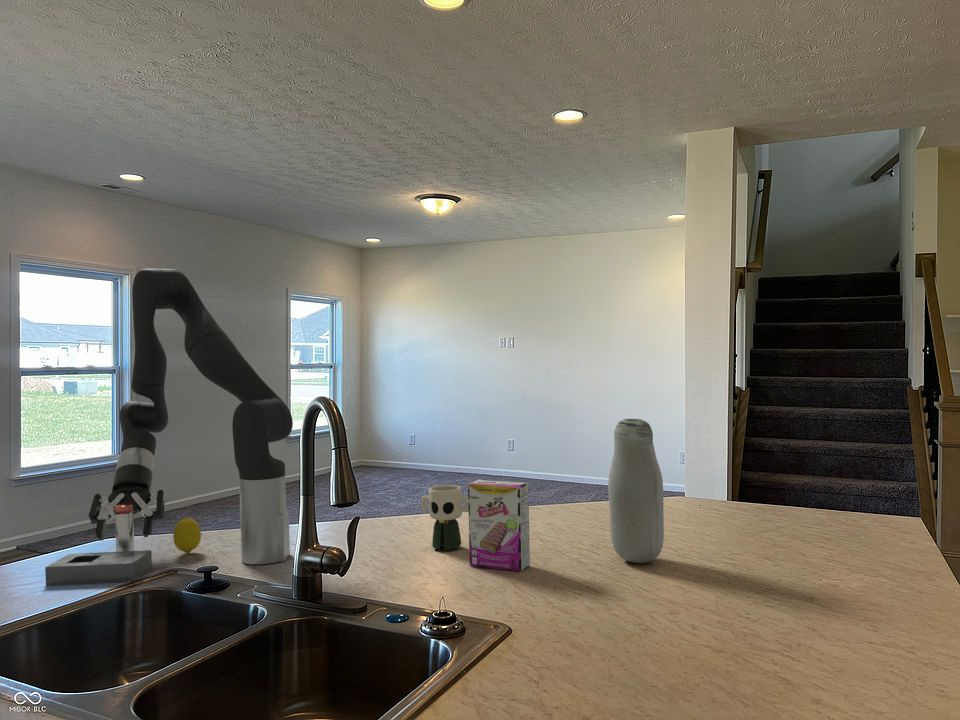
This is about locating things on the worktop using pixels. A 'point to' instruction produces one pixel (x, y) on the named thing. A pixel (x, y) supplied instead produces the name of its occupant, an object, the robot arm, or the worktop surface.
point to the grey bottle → (635, 493)
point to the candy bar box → (499, 525)
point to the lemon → (187, 535)
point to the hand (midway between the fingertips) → (123, 536)
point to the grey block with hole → (98, 567)
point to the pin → (124, 527)
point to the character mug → (445, 514)
